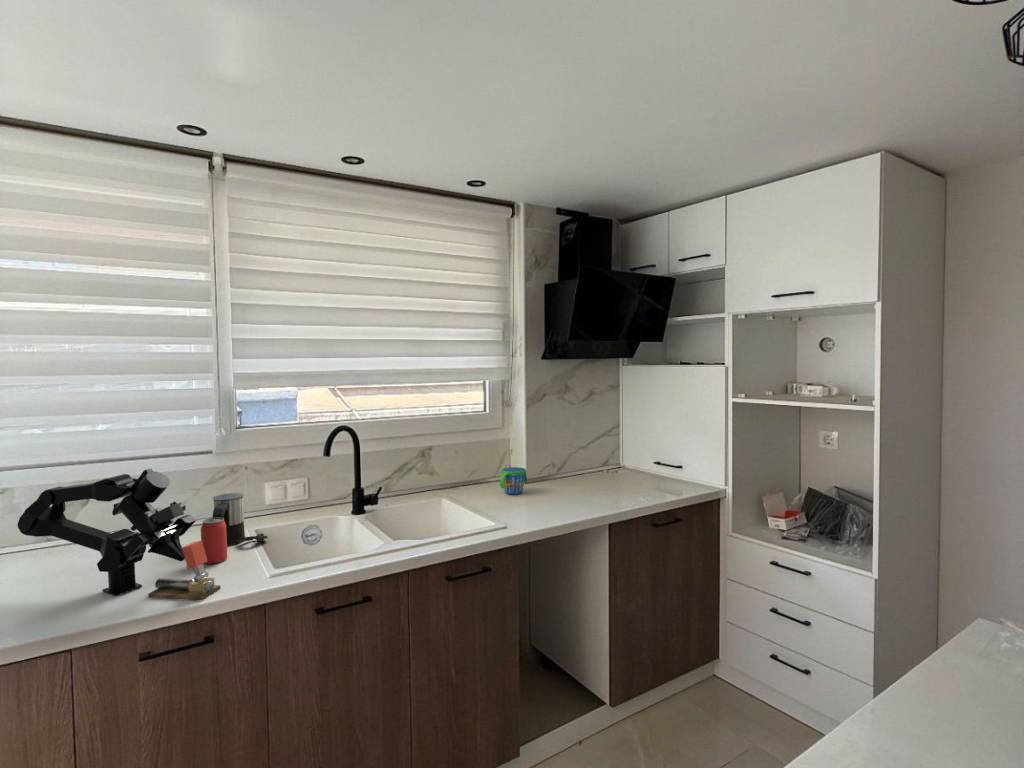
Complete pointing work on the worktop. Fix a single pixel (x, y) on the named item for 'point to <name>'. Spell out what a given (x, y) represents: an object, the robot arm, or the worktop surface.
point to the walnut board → (180, 594)
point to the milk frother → (233, 517)
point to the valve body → (186, 585)
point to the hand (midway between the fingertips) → (183, 559)
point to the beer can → (214, 540)
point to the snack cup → (513, 480)
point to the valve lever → (196, 559)
